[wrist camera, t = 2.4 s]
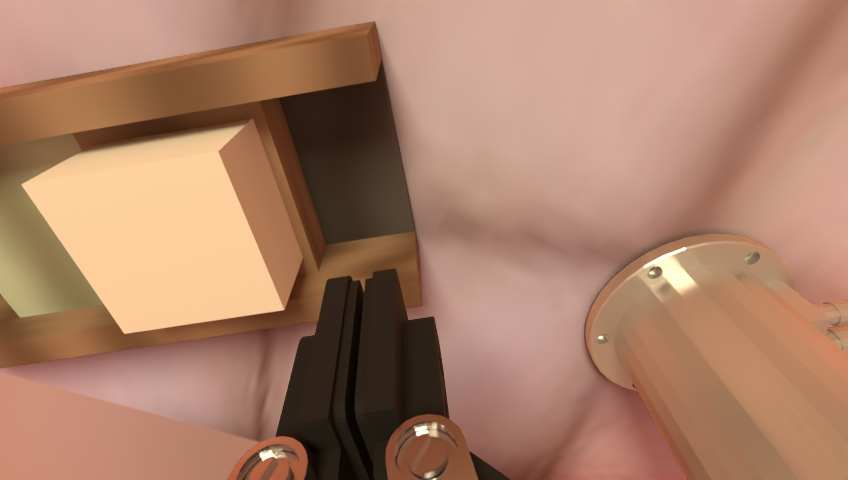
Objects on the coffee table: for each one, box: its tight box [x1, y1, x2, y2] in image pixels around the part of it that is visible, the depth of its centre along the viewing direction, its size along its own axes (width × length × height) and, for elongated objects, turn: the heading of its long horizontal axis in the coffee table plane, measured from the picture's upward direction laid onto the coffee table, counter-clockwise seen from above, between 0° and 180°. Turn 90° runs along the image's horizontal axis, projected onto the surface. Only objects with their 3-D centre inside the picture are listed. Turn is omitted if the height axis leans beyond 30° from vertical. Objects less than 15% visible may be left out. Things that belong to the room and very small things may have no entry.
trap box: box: [0, 21, 422, 368], centre depth 21 cm, size 28×12×5 cm, turn 99°
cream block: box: [21, 118, 303, 334], centre depth 18 cm, size 7×7×4 cm
